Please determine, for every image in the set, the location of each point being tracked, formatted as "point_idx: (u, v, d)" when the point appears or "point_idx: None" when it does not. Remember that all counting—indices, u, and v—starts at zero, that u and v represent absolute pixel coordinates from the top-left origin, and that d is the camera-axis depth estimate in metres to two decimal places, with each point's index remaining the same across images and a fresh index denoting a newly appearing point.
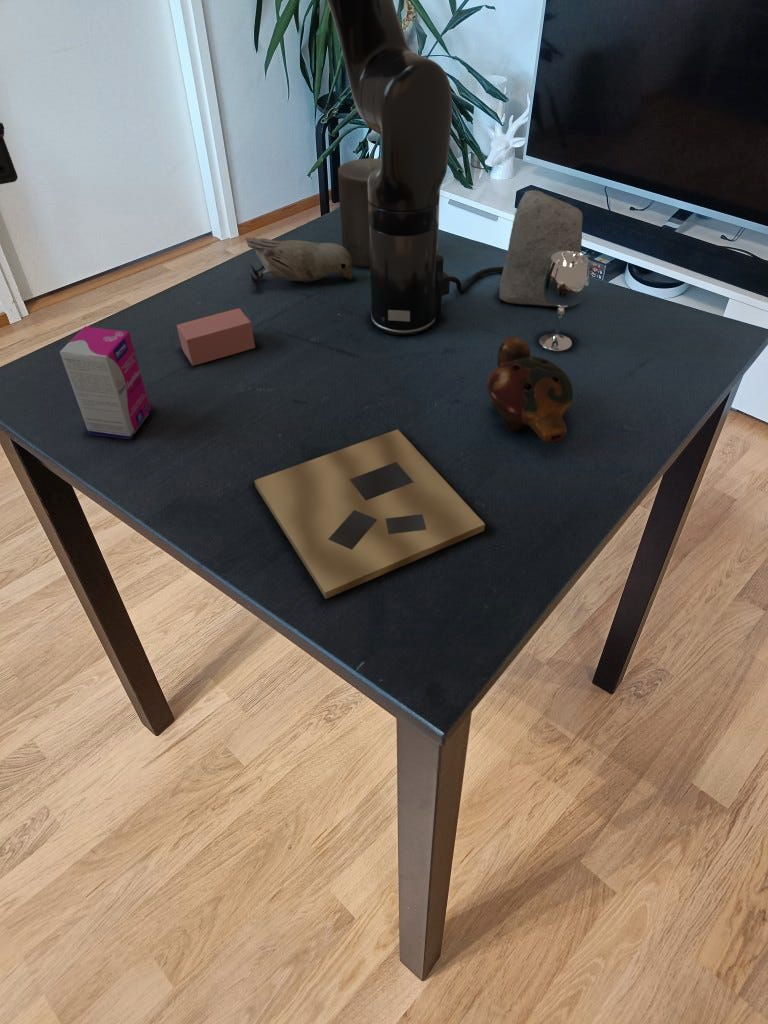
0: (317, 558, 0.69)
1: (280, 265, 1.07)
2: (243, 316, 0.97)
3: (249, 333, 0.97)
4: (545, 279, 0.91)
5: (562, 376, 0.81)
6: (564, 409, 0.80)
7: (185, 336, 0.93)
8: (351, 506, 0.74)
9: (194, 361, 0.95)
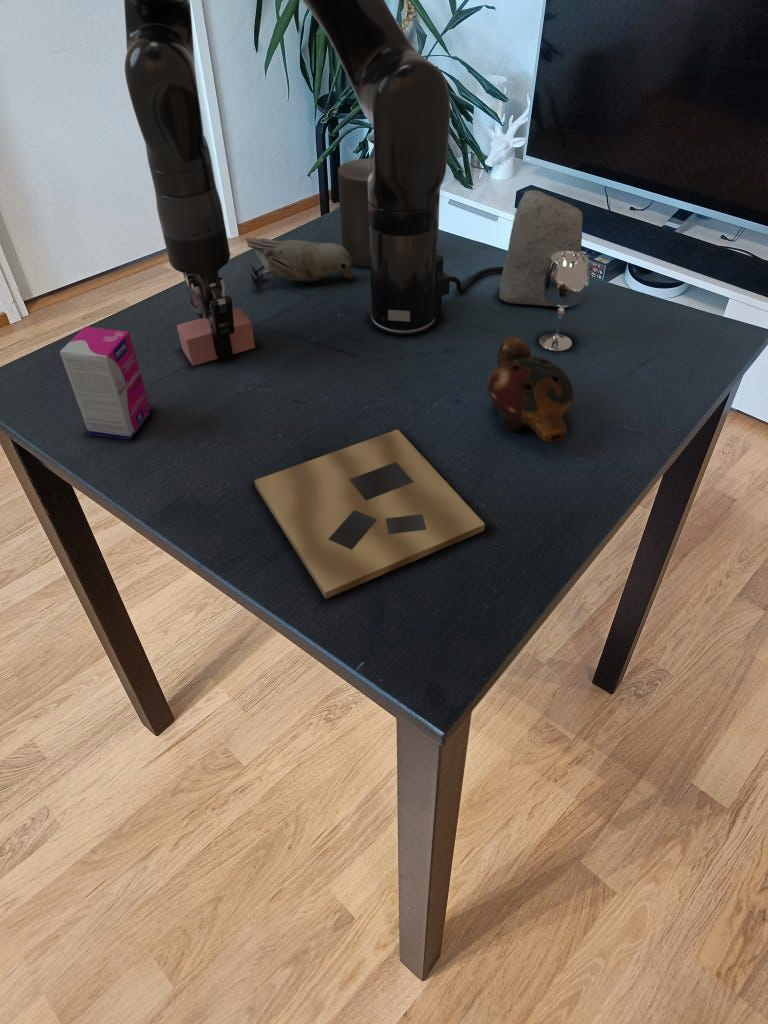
0: (317, 558, 0.69)
1: (280, 265, 1.07)
2: (243, 316, 0.97)
3: (249, 333, 0.97)
4: (545, 279, 0.91)
5: (562, 376, 0.81)
6: (564, 409, 0.80)
7: (185, 336, 0.93)
8: (351, 506, 0.74)
9: (194, 361, 0.95)
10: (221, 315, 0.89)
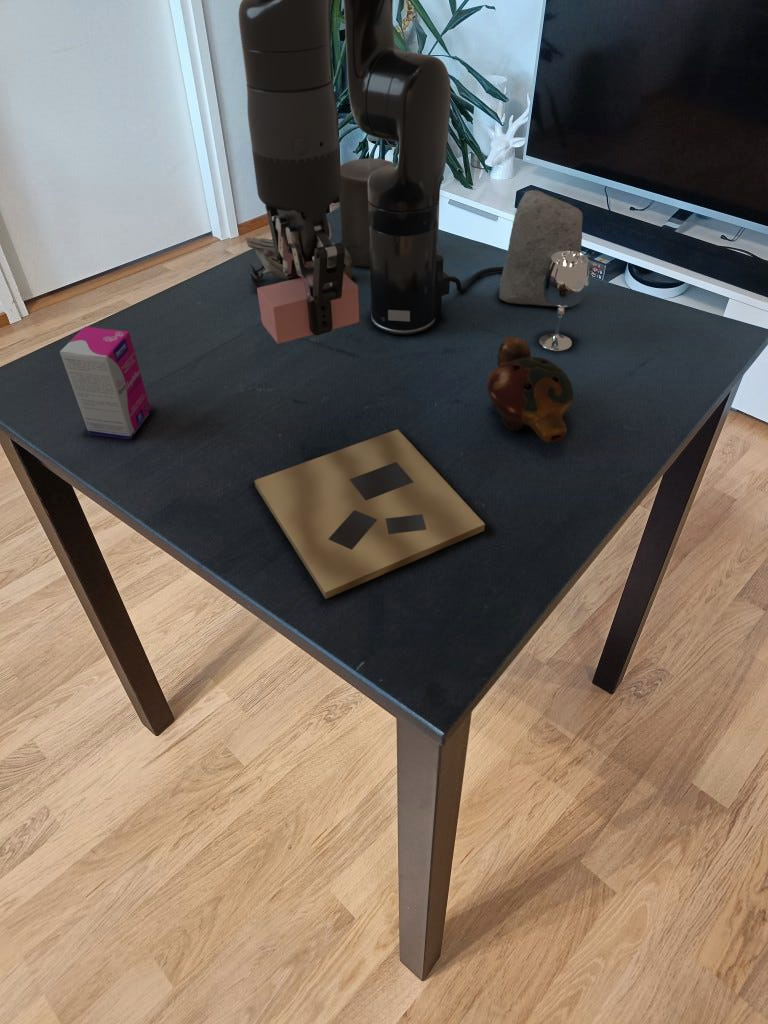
0: (317, 558, 0.69)
1: (280, 265, 1.07)
2: (346, 278, 0.71)
3: (354, 301, 0.71)
4: (545, 279, 0.91)
5: (562, 376, 0.81)
6: (564, 409, 0.80)
7: (271, 302, 0.68)
8: (351, 506, 0.74)
9: (280, 337, 0.70)
10: (328, 271, 0.64)
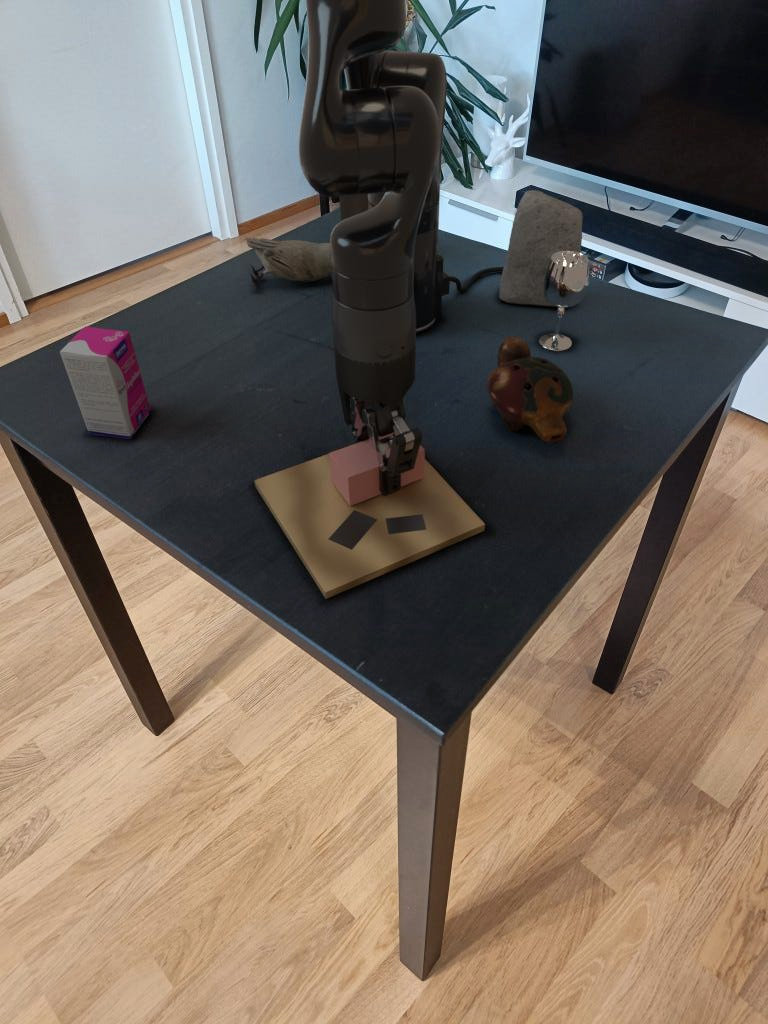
0: (317, 558, 0.69)
1: (280, 265, 1.07)
2: None
3: (420, 462, 0.75)
4: (545, 279, 0.91)
5: (562, 376, 0.81)
6: (564, 409, 0.80)
7: (345, 471, 0.72)
8: (351, 506, 0.74)
9: (352, 501, 0.74)
10: (404, 452, 0.67)
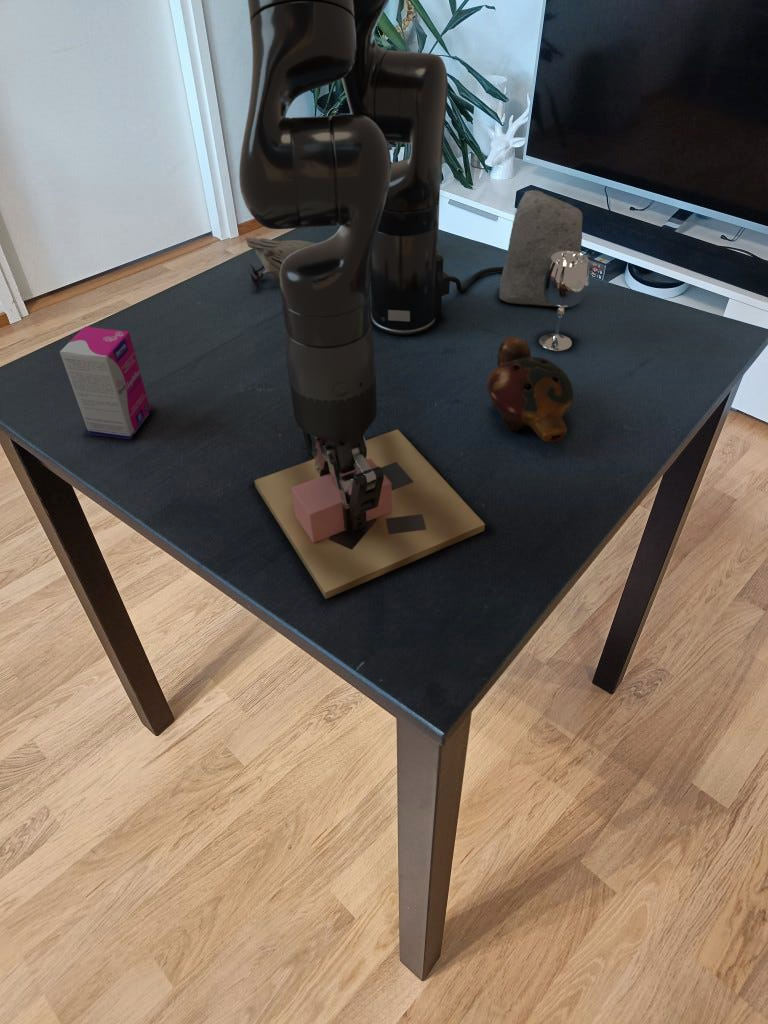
0: (317, 558, 0.69)
1: (280, 265, 1.07)
2: None
3: (387, 495, 0.72)
4: (545, 279, 0.91)
5: (562, 376, 0.81)
6: (564, 409, 0.80)
7: (307, 508, 0.68)
8: None
9: (316, 537, 0.70)
10: (366, 491, 0.64)
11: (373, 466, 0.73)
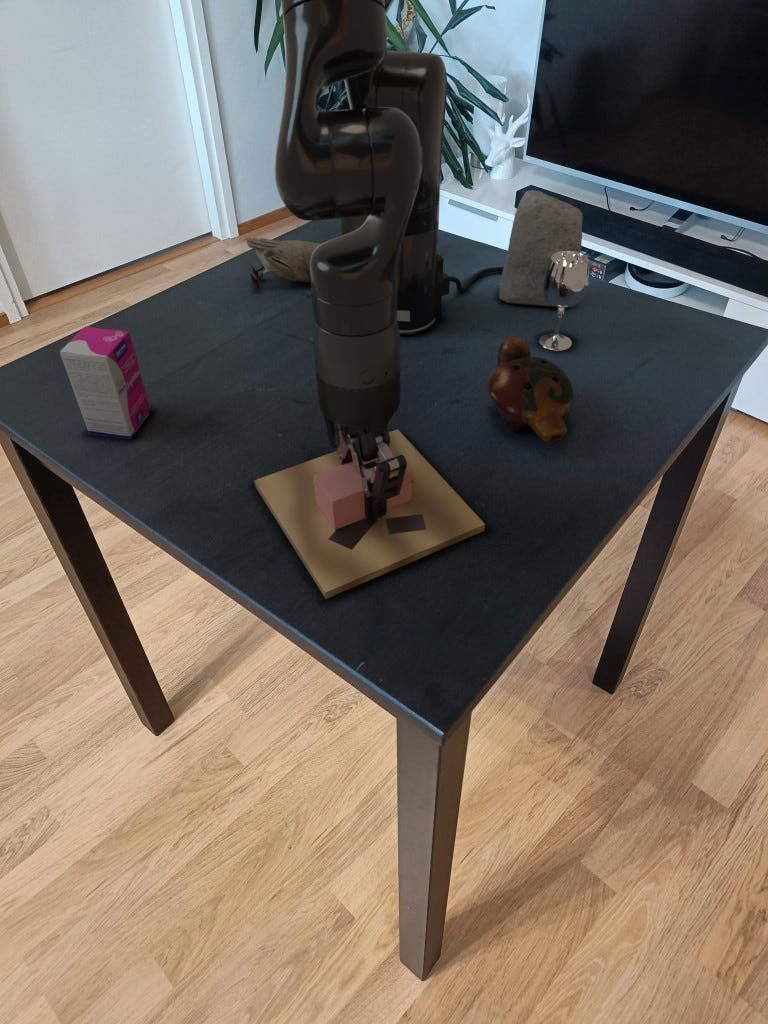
0: (317, 558, 0.69)
1: (280, 265, 1.07)
2: None
3: (407, 484, 0.73)
4: (545, 279, 0.91)
5: (562, 376, 0.81)
6: (564, 409, 0.80)
7: (329, 495, 0.70)
8: None
9: (337, 525, 0.71)
10: (389, 479, 0.65)
11: (394, 455, 0.74)
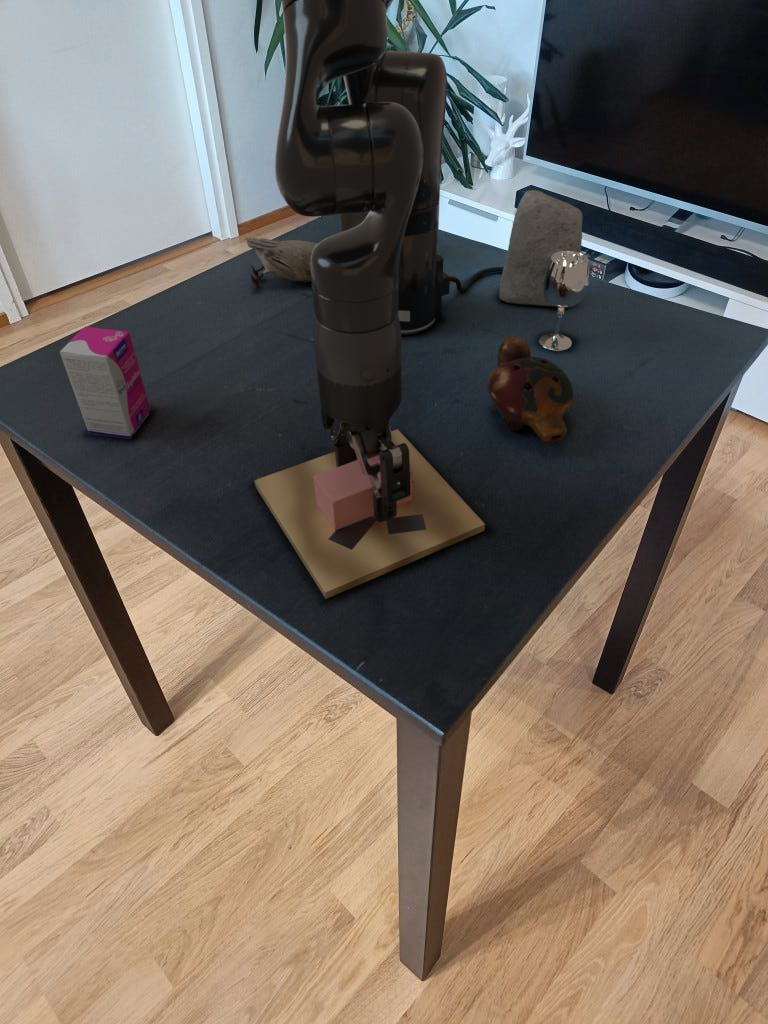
0: (317, 558, 0.69)
1: (280, 265, 1.07)
2: None
3: None
4: (545, 279, 0.91)
5: (562, 376, 0.81)
6: (564, 409, 0.80)
7: (329, 496, 0.70)
8: None
9: (338, 525, 0.71)
10: (394, 471, 0.64)
11: None
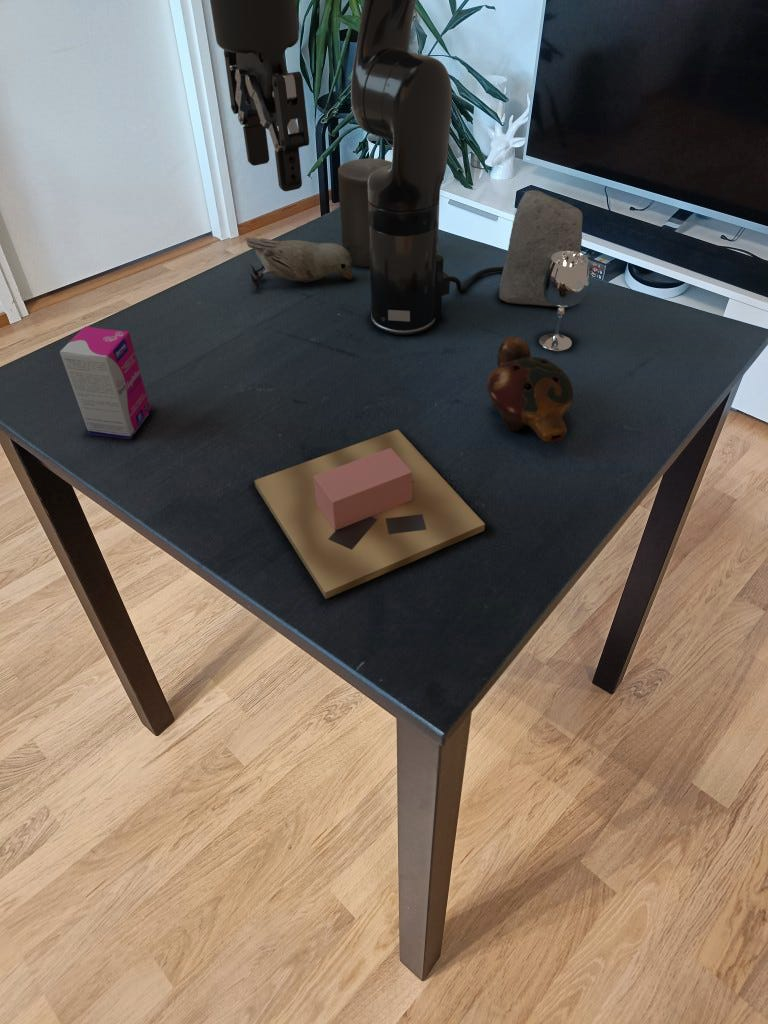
0: (317, 558, 0.69)
1: (280, 265, 1.07)
2: (399, 462, 0.73)
3: (408, 484, 0.73)
4: (545, 279, 0.91)
5: (562, 376, 0.81)
6: (564, 409, 0.80)
7: (329, 496, 0.70)
8: None
9: (338, 525, 0.71)
10: (289, 105, 0.63)
11: (394, 455, 0.74)
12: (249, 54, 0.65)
